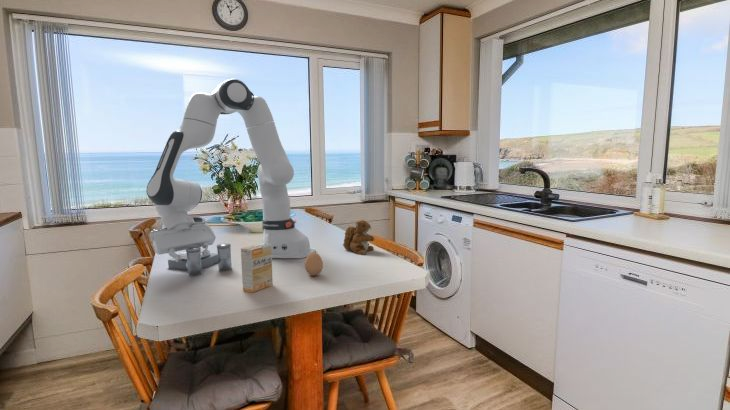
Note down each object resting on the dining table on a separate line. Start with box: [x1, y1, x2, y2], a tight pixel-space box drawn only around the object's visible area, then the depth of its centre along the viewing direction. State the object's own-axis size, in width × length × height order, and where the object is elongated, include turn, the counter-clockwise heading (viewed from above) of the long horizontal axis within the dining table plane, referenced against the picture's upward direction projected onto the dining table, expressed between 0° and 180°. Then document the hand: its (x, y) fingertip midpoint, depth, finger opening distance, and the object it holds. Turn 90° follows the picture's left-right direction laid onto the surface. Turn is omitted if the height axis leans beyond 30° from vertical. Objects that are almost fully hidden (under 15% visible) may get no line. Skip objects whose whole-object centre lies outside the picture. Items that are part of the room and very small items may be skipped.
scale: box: [167, 252, 218, 271], centre depth 143 cm, size 13×13×3 cm
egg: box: [304, 252, 324, 277], centre depth 128 cm, size 6×6×8 cm
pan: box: [177, 249, 211, 260], centre depth 143 cm, size 11×11×1 cm
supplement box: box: [240, 242, 274, 293], centre depth 116 cm, size 8×5×13 cm, turn 148°
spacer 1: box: [185, 247, 203, 277], centre depth 131 cm, size 5×5×9 cm
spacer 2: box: [216, 242, 233, 272], centre depth 136 cm, size 5×5×9 cm
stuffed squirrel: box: [342, 219, 375, 255], centre depth 160 cm, size 10×14×13 cm
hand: (193, 257), depth 131 cm, fingers open, 8 cm apart
